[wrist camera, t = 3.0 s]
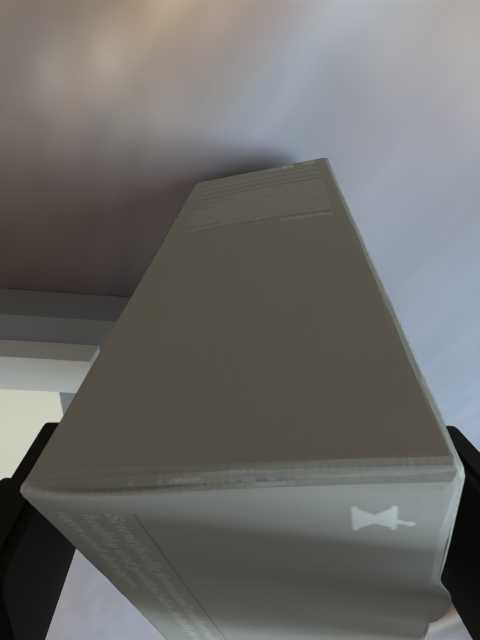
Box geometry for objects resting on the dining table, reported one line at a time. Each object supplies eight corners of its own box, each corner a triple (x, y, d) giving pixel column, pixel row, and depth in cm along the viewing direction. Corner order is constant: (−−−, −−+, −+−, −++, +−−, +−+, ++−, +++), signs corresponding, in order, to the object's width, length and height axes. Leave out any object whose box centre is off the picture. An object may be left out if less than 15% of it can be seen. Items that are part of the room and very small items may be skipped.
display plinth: (165, 299, 22) (150, 339, 18) (167, 503, 30) (157, 560, 26) (-199, 274, 21) (-301, 311, 17) (-93, 492, 29) (-144, 551, 25)
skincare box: (196, 179, 18) (-60, 472, 5) (348, 150, 17) (509, 470, 4) (233, 321, 23) (143, 664, 10) (355, 310, 21) (439, 702, 8)
